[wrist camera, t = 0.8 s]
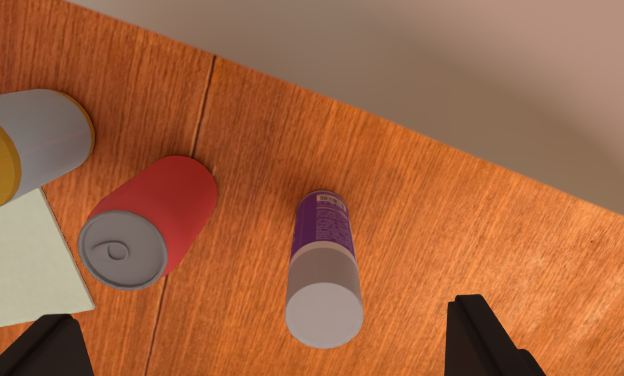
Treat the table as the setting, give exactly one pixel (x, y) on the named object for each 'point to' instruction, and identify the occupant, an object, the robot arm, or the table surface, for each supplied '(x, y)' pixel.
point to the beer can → (147, 223)
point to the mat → (36, 264)
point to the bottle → (40, 139)
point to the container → (323, 274)
